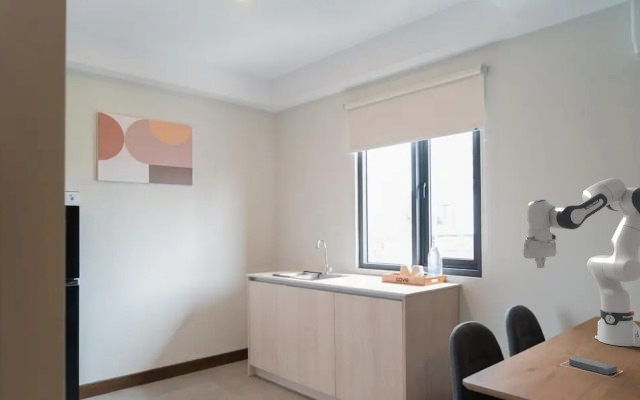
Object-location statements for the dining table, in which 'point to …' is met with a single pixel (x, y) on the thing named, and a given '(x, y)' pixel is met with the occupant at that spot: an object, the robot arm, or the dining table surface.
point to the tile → (593, 365)
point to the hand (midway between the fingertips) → (540, 267)
